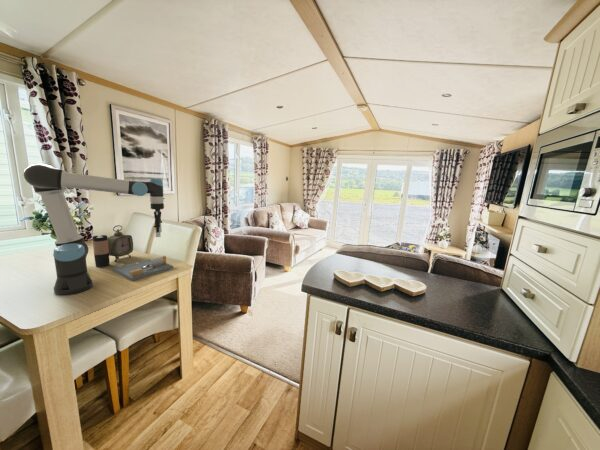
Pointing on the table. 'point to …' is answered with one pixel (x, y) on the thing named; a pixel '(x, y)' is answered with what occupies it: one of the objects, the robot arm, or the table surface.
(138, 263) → the panel
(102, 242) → the travel mug
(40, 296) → the table surface
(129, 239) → the tabletop clock
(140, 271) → the screwdriver
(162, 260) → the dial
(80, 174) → the robot arm
